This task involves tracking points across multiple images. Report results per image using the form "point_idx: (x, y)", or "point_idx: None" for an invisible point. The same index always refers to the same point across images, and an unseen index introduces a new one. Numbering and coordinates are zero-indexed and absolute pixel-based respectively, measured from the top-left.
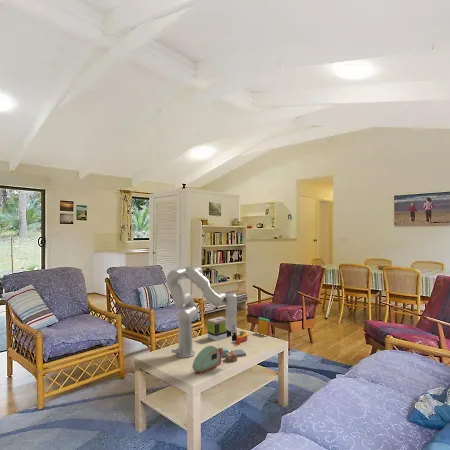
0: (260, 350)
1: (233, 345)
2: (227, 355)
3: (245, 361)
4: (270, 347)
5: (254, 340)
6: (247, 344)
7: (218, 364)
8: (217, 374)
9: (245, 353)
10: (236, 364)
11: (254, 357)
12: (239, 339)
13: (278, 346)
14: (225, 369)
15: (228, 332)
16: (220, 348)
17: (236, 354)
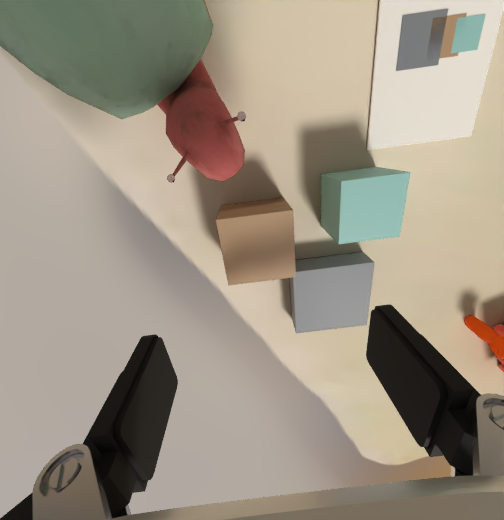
0: (348, 387)
1: (487, 294)
2: (243, 214)
3: (232, 303)
4: (363, 422)
5: (479, 392)
6: (452, 358)
7: (165, 112)
8: (18, 71)
9: (296, 330)
10: (197, 249)
11: (274, 350)
12: (499, 350)
13: (359, 444)
14: (119, 161)
15: (413, 381)
16: (197, 140)
17: (235, 282)
